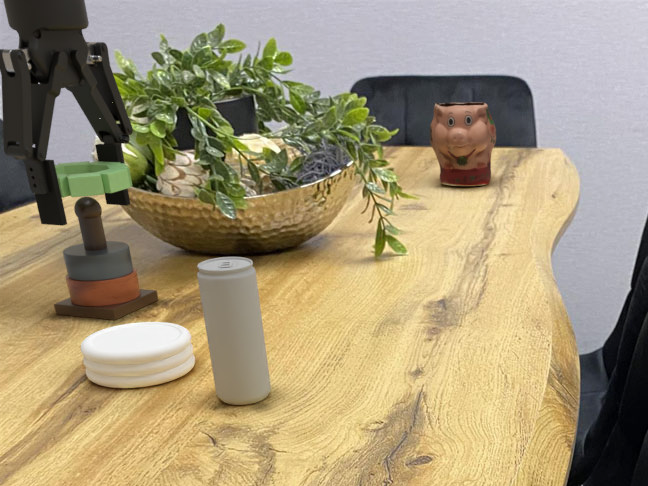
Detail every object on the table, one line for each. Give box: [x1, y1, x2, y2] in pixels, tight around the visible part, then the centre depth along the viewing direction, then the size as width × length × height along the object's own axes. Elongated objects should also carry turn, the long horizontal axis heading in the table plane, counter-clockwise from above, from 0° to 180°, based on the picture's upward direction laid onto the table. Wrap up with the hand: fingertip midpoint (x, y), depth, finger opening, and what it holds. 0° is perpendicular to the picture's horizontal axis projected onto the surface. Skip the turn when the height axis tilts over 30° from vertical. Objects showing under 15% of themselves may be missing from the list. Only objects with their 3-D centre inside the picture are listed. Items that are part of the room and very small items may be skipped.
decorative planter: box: [429, 101, 497, 187], centre depth 177 cm, size 20×12×14 cm, turn 5°
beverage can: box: [196, 256, 272, 406], centre depth 84 cm, size 5×5×12 cm
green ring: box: [33, 160, 133, 199], centre depth 105 cm, size 10×10×2 cm
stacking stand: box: [53, 196, 159, 321], centre depth 109 cm, size 8×8×12 cm
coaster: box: [80, 321, 196, 389], centre depth 92 cm, size 10×10×4 cm
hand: (87, 213), depth 107 cm, fingers closed on green ring, 10 cm apart
